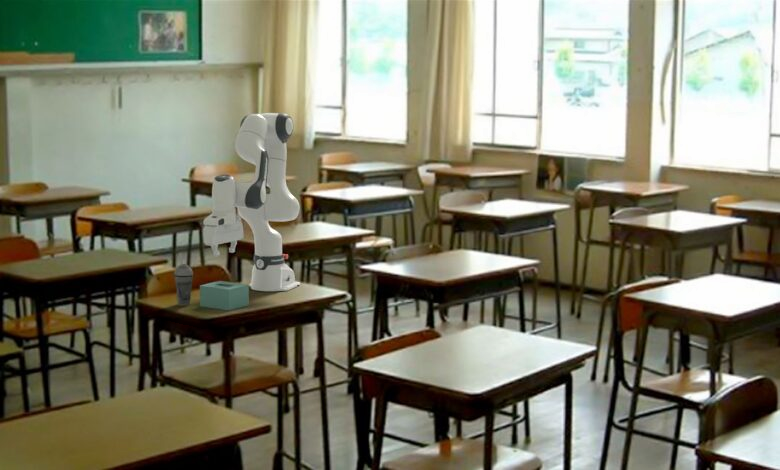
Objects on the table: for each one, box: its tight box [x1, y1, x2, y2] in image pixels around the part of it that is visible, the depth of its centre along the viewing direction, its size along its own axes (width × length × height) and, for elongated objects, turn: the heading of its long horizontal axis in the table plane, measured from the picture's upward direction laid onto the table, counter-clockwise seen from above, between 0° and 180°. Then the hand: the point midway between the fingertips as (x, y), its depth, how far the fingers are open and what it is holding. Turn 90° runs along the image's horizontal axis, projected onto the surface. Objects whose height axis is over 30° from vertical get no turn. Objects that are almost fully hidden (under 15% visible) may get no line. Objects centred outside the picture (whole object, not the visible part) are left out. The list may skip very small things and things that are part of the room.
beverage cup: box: [173, 252, 194, 307], centre depth 460 cm, size 7×7×20 cm
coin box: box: [199, 280, 250, 311], centre depth 460 cm, size 12×14×8 cm
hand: (224, 254), depth 458 cm, fingers open, 8 cm apart
